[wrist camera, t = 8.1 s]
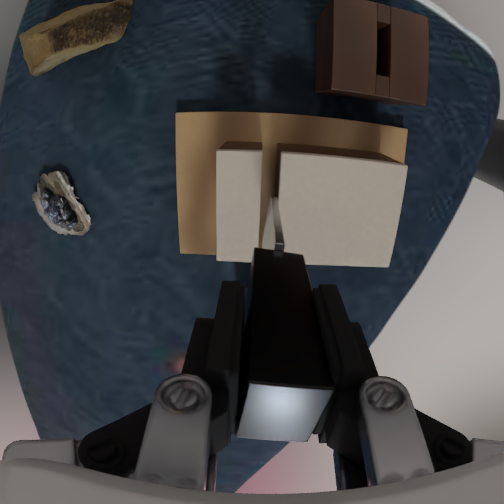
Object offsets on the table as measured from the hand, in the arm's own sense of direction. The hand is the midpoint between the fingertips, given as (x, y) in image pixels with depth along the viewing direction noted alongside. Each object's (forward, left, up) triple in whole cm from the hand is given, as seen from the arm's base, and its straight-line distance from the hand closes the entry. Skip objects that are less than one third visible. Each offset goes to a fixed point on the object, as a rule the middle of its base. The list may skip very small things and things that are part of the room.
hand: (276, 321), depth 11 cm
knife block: (-7, -12, -19) cm, 24 cm away
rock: (+18, -15, -19) cm, 30 cm away
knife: (0, 0, -10) cm, 10 cm away
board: (-2, 0, -19) cm, 19 cm away
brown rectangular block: (+2, 0, -18) cm, 18 cm away
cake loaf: (-5, 0, -18) cm, 19 cm away
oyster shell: (+21, +2, -19) cm, 29 cm away
